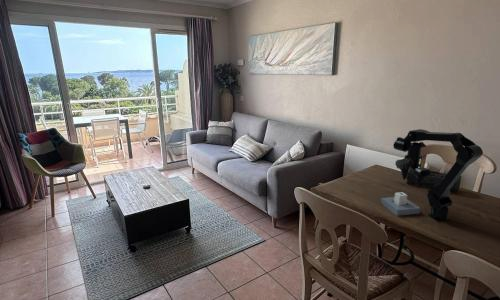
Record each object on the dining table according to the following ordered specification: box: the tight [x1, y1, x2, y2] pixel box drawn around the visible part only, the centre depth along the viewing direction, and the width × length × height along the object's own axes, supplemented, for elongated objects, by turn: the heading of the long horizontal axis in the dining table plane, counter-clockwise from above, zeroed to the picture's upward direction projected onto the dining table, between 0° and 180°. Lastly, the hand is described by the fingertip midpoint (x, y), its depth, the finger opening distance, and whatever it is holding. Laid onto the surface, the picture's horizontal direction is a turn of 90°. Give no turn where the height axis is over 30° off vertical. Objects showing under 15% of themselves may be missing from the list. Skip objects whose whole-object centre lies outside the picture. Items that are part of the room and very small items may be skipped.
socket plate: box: [380, 196, 421, 217], centre depth 145 cm, size 14×12×3 cm
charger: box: [394, 191, 408, 206], centre depth 144 cm, size 4×4×8 cm
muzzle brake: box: [404, 168, 462, 193], centre depth 168 cm, size 10×28×10 cm, turn 50°
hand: (410, 182), depth 146 cm, fingers open, 9 cm apart
